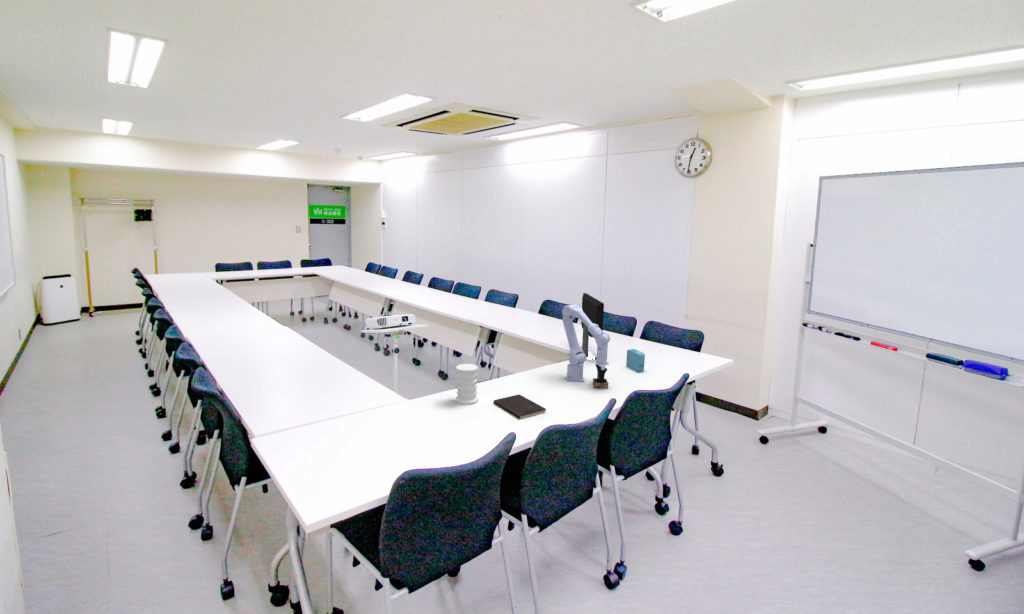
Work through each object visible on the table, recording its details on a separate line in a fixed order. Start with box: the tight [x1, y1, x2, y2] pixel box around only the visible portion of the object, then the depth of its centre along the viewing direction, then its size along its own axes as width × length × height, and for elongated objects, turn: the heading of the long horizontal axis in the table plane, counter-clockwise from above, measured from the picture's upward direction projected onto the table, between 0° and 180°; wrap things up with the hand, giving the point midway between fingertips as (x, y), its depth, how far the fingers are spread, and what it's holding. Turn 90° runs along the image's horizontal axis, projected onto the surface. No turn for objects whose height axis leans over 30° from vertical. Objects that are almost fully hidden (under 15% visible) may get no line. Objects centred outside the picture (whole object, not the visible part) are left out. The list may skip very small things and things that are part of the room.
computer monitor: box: [580, 292, 605, 360], centre depth 331 cm, size 41×8×40 cm, turn 8°
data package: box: [625, 348, 646, 373], centre depth 305 cm, size 12×4×12 cm, turn 24°
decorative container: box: [455, 363, 479, 406], centre depth 249 cm, size 12×12×18 cm
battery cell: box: [596, 370, 606, 383], centre depth 275 cm, size 4×4×7 cm
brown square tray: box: [592, 377, 609, 389], centre depth 276 cm, size 8×8×3 cm
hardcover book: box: [492, 394, 547, 420], centre depth 243 cm, size 16×23×2 cm
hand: (600, 378), depth 275 cm, fingers open, 4 cm apart
